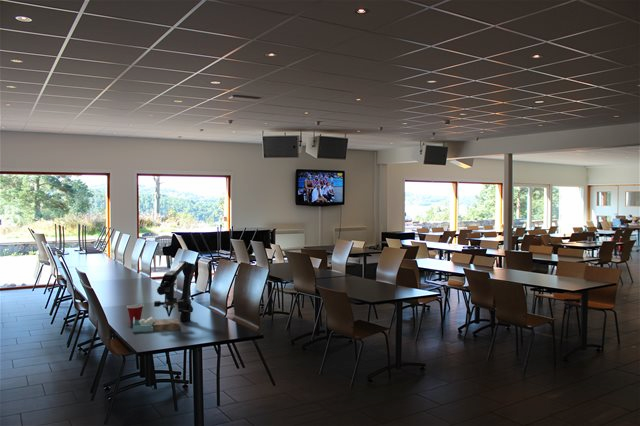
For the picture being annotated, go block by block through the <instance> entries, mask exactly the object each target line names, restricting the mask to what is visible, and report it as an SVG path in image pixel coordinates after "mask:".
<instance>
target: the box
mask: <svg viewBox="0 0 640 426" xmlns="http://www.w3.org/2000/svg"><path fill="white" fill-rule="evenodd" d="M147 319H148V318H147ZM147 319H144V320H145V321H146V320H147ZM140 320H141V319H140ZM140 320H135V317H133V324H132V333H133V334H134V333H152V332H154V331H153V323H152V324H151V325H142V326H141V325H140V323H139V321H140Z"/></svg>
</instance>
